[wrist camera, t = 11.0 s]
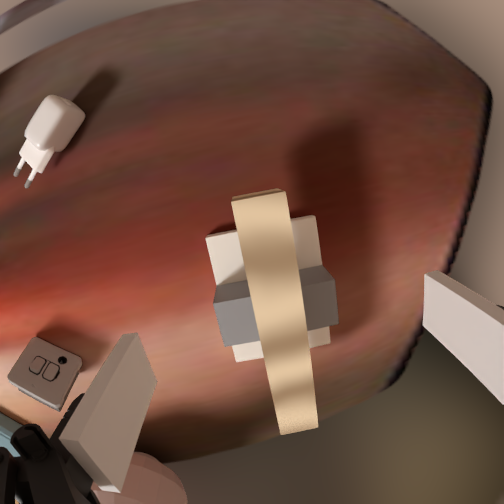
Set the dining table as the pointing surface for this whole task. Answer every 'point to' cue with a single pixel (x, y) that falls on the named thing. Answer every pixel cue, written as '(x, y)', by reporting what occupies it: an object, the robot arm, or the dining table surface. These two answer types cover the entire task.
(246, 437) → the dining table surface
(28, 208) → the dining table surface
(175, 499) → the vase
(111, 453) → the robot arm
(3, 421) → the book
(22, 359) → the electrical switch
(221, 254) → the fulcrum
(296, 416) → the beam
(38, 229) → the dining table surface
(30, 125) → the power adapter
